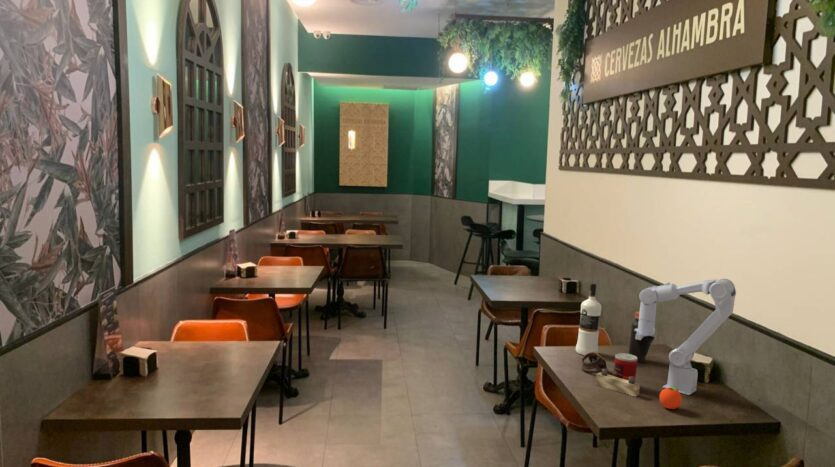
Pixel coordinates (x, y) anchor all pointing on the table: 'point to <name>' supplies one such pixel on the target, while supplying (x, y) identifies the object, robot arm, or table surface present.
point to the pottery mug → (593, 361)
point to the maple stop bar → (617, 383)
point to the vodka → (589, 324)
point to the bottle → (635, 341)
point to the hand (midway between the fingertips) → (643, 354)
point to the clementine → (670, 398)
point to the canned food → (625, 366)
